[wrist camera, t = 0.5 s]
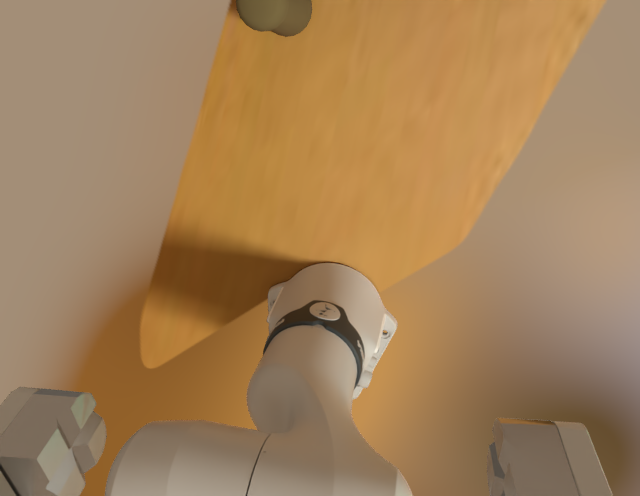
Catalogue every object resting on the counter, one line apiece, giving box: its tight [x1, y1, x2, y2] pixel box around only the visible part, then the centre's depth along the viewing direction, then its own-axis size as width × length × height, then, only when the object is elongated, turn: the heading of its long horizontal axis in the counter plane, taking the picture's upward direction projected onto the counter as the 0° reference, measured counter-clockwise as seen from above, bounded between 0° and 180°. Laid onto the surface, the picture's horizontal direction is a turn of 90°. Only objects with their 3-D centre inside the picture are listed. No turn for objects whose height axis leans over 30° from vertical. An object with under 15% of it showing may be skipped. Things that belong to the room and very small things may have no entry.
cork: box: [236, 0, 312, 37], centre depth 54 cm, size 6×6×11 cm
